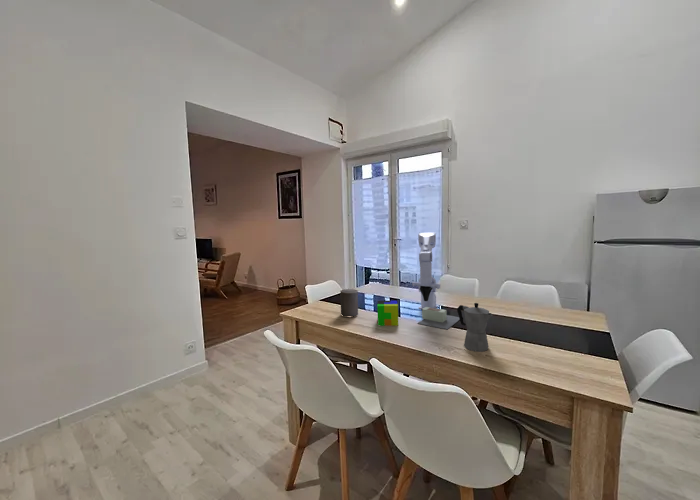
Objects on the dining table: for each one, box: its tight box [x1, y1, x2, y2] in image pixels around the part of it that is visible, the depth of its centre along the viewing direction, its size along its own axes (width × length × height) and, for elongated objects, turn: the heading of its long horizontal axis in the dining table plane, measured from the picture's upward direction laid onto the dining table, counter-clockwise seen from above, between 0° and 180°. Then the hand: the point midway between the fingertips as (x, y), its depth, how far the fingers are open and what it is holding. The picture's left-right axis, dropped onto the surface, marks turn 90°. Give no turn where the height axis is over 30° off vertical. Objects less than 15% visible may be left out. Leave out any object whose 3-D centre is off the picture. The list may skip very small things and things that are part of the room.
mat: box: [417, 314, 460, 331], centre depth 154 cm, size 20×15×1 cm
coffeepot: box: [456, 302, 493, 353], centre depth 121 cm, size 15×9×18 cm, turn 33°
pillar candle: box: [339, 288, 359, 317], centre depth 168 cm, size 10×10×15 cm
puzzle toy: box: [376, 300, 399, 327], centre depth 154 cm, size 10×10×10 cm
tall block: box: [421, 307, 448, 322], centre depth 155 cm, size 5×5×11 cm
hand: (426, 300), depth 157 cm, fingers closed
